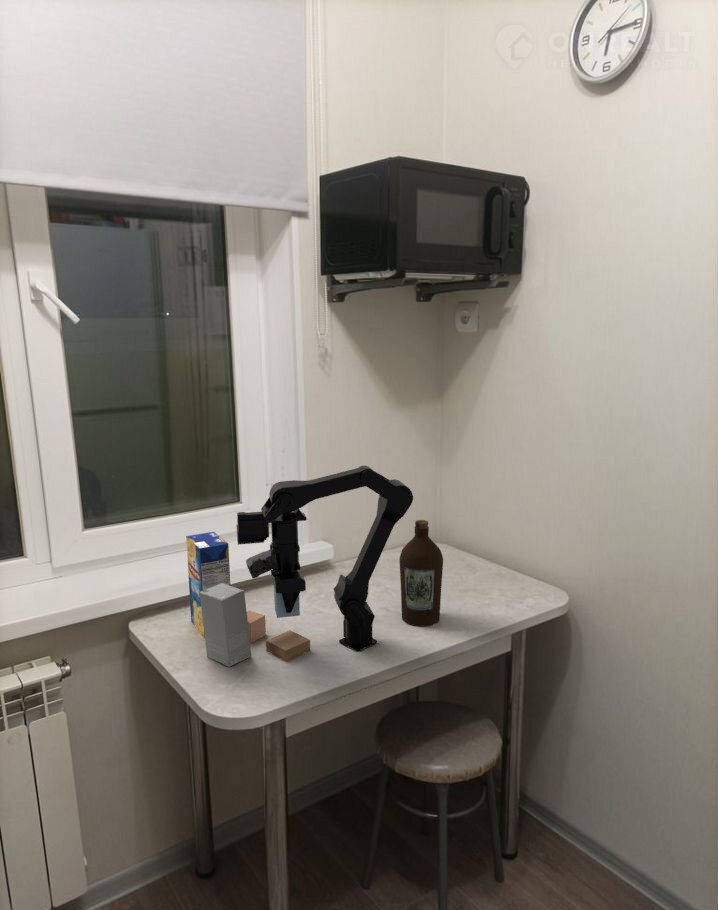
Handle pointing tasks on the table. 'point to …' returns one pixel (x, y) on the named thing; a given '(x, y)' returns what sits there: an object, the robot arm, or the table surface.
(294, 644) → the walnut slab
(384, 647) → the table surface
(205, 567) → the beverage box
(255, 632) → the terracotta block
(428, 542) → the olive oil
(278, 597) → the slate block
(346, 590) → the robot arm
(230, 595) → the skincare box
